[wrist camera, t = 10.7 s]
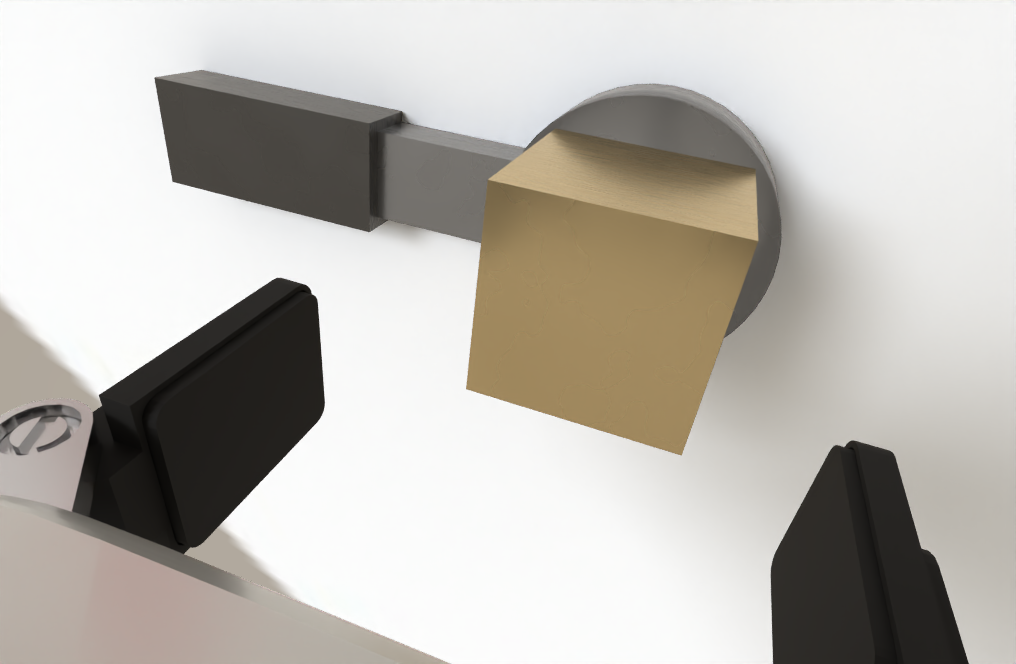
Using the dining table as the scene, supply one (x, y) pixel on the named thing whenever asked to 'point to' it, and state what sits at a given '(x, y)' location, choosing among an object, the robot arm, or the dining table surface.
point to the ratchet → (423, 155)
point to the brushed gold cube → (609, 282)
